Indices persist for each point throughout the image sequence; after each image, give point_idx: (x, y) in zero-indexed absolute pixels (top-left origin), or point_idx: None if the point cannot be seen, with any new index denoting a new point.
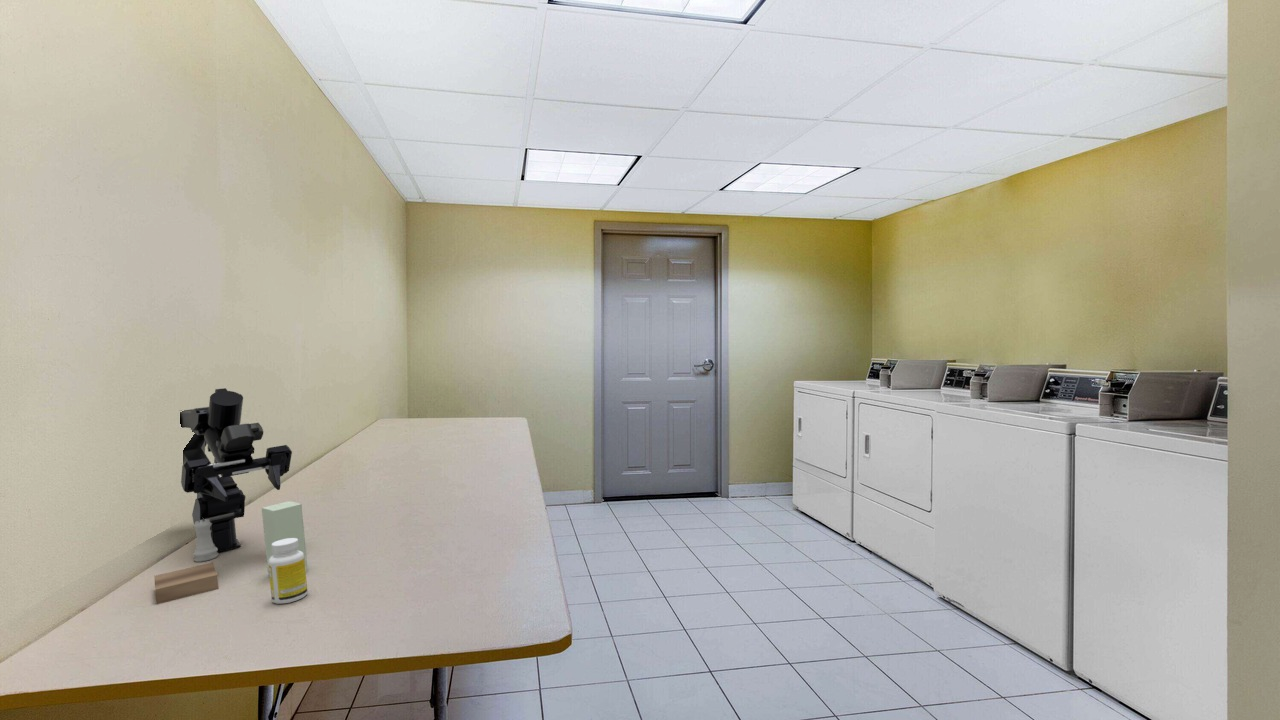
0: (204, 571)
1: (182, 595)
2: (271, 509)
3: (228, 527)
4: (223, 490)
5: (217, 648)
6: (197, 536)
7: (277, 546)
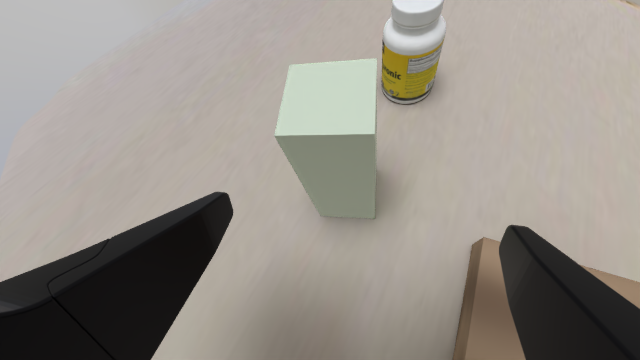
0: (502, 304)
1: None
2: (369, 81)
3: None
4: (551, 262)
5: (534, 18)
6: None
7: None
